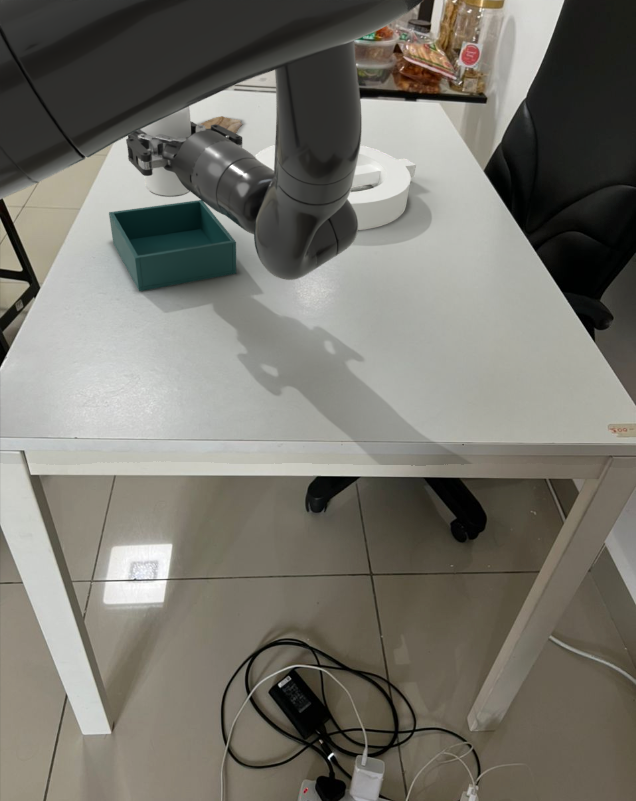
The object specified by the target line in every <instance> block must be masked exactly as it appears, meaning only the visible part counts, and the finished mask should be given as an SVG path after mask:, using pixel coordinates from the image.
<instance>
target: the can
mask: <svg viewBox="0 0 636 801" xmlns="http://www.w3.org/2000/svg"><path fill="white" fill-rule="evenodd" d="M190 121H191V110H190V106H189V107H186V108H184V109H182V110H180V111H178V112H176V113H173V114H171V115H169V116H167V117H165V118H163V119H161V120H159V121H157V122H154V123H152V124H150V125H148V126H146V127H144V128H142V129H140V130H142V131H143V132H145V133H146V134H147V135H150V136H156V135H158V134H162V135H166V136H170V137H174V138H177V137H183V138H186V137H190V136H191V122H192V121H191V122H190ZM163 146H164V148H165V146H166V144H164V143H163ZM149 149H151V151H152V152H153V146H152V144H150V143H149ZM152 172H153V174H152V175H150V176H144V175H143V176H144V185H145V188H146V189H147V190H148V191H149V192H150V193H151V194H152V195H155V196H158V197H165V198H176V197H181V196H184V195H185V196H186V195H187V194H189V193H191V192H190V191H189V190H188V189H186V188H185V187H184V186H183V184H182V183H181V182H180V180H179V179H178V177H177V175H176V174H175V173H174V172H171V171H167V170H166V169H164V167H159V168H153V170H152Z"/></svg>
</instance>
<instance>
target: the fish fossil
mask: <svg viewBox="0 0 636 801" xmlns="http://www.w3.org/2000/svg"><path fill="white" fill-rule="evenodd" d="M214 124H217V125H220V126H222V127H224V128H226V129H228V130H230V131H232V132H234V133H236V134H237V133H238V131H239V130H240V128H241V127H242V125H243V123H242V122H241V120H240V119H235V118H231V117H228V116H227V117H225V116H223V115H221V116H216V117H212V118H211V119H208V120H206V121H204V122H201V123H200V124H199V125H204V126H205V129H211V125H214Z"/></svg>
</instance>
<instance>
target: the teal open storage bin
mask: <svg viewBox="0 0 636 801" xmlns="http://www.w3.org/2000/svg"><path fill="white" fill-rule="evenodd" d="M108 216H109V224H110V230H111V238H112V244H113V246H114V247H115V250H116V251H117V254H118V255H119V257H120V259H121V261H122V263H123V265H124V266H125V268H126V270H127V272H128V273H129V276H130V277H131V279H132V281H133V283H134V285H135V287H136V288H137V290H138V292H143V291H149V290H154V289H158V288H159V289H160V288H165V287H170V286H176V285H181V284H186V283H187V284H188V283H192V282H197V281H198V282H199V281H203V280H209V279H214V278H220V277H224V276H231V275H235V274H236V275H237V241H236V240H235V239H234V238H233V236H232V235H231V233H229V231H228V230H227V229H226V228H225V227H224V225H223V224H222V223H221V221H220V220H219V219H218V218H217V216H216V215H215V214H214V212H212V210H211V209H210V208H209V207H208V205H207V204H206V203H205V202H203V201H202V200H201V199H199V200H198V199H197V200H190V201H183V202H177V203H167V204H161V205H160V204H159V205H153V206H145V207H139V208H131V209H123V210H116V211H109V212H108Z"/></svg>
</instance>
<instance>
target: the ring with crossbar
mask: <svg viewBox="0 0 636 801" xmlns="http://www.w3.org/2000/svg"><path fill="white" fill-rule="evenodd" d="M254 157H255V158H256V159H257V160H258V161H260V162H261V163H263V164H264V165H266V166H268V167H269V168H271V169H272V170H274V159H275V144H273V145H270V146H267V147H265V148H263V149H261V150H260V151H258V152H257V153H256V154H255V156H254ZM416 167H417V164H416V163H414V162H412V161H410V159H407V158H398V159H397V158H395V157H394V156H392V155H390V154H388V153H386V152H384V151H382V150H379V149H376V148H373V147H370V146H366V145H364V144H360V151H359V156H358V161H357V165H356V170H355V174H354V179H353V183H352V187H351V189H352V188H358V187H363V186H369V185H370V186H371V187H372V188H371V187H370V188H368V189H363V190H359V191H350V194H349V196H348V198H347V199H348V200H349V202H350V203H351V205H352V206H353V208H354V210H355V212H356V216H357V219H358V231H364V230H369V229H374V228H378V227H381V226H385V225H387V224H390V223H392V222H394V221H396V220H397V219H399V218H400V217H401V216H402V215H403V213H404V212H405V210H406V208H407V202H408V197H409V192H410V186H411V180H412V178H415V173H416Z"/></svg>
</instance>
